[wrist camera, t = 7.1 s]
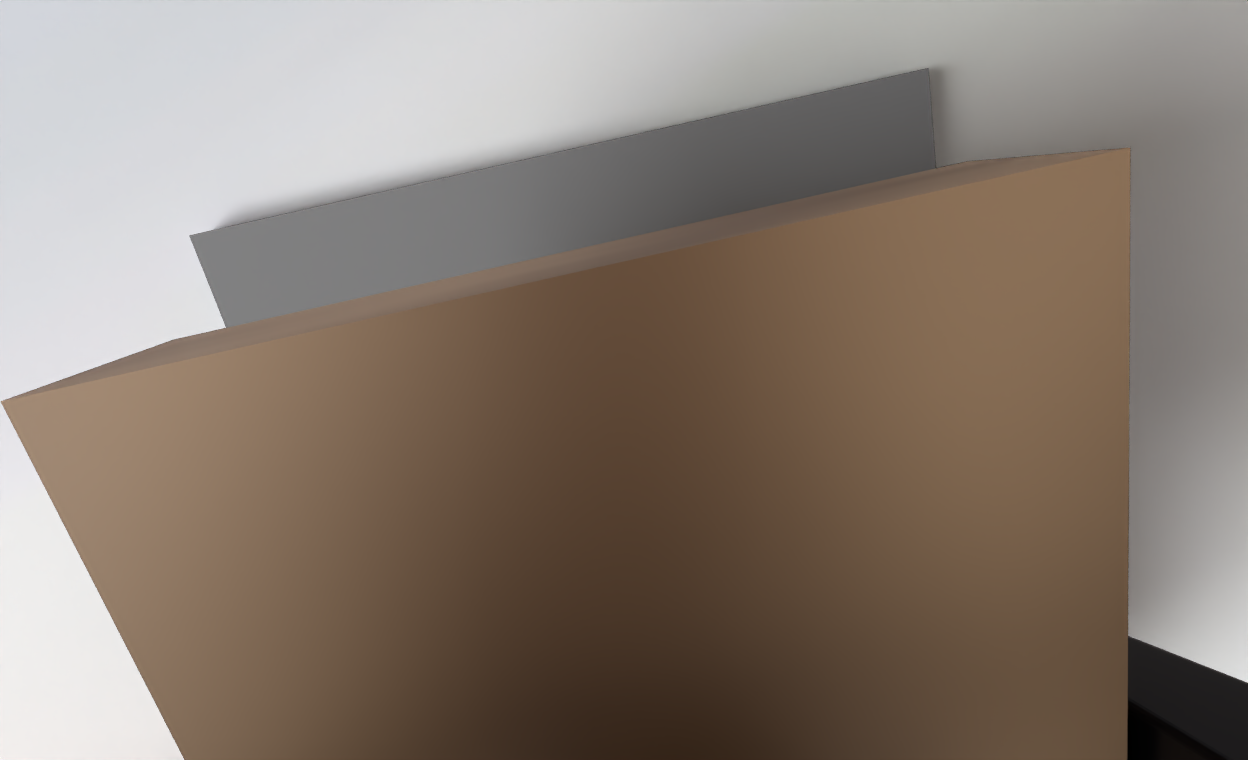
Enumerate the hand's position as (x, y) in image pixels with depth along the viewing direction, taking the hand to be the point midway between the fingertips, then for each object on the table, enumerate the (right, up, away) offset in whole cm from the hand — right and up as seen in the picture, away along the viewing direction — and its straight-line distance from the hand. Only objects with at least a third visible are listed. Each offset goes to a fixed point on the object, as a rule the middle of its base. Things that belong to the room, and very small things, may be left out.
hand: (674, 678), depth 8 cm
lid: (0, 0, -1) cm, 1 cm away
